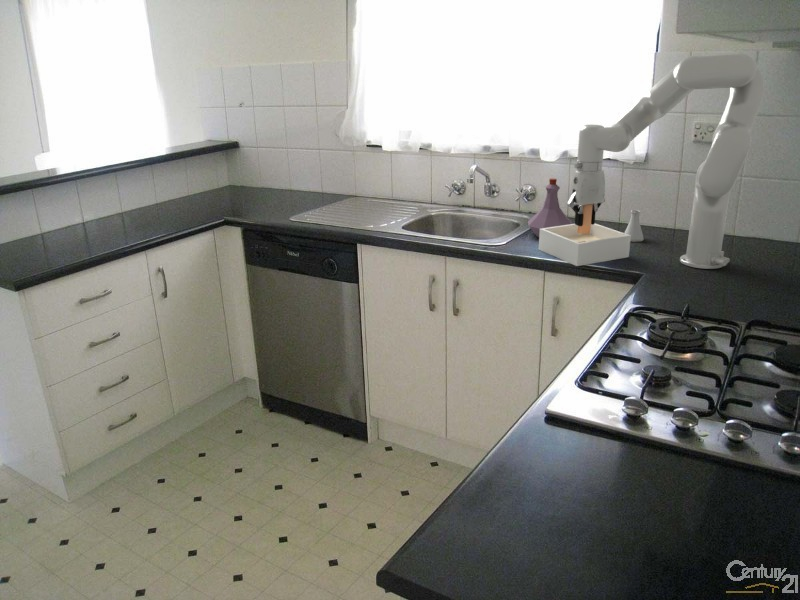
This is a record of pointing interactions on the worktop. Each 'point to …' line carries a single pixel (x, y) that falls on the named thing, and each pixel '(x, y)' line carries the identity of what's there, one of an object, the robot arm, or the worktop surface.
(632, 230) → the flask
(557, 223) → the flask
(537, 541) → the worktop surface
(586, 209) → the peg
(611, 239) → the box
